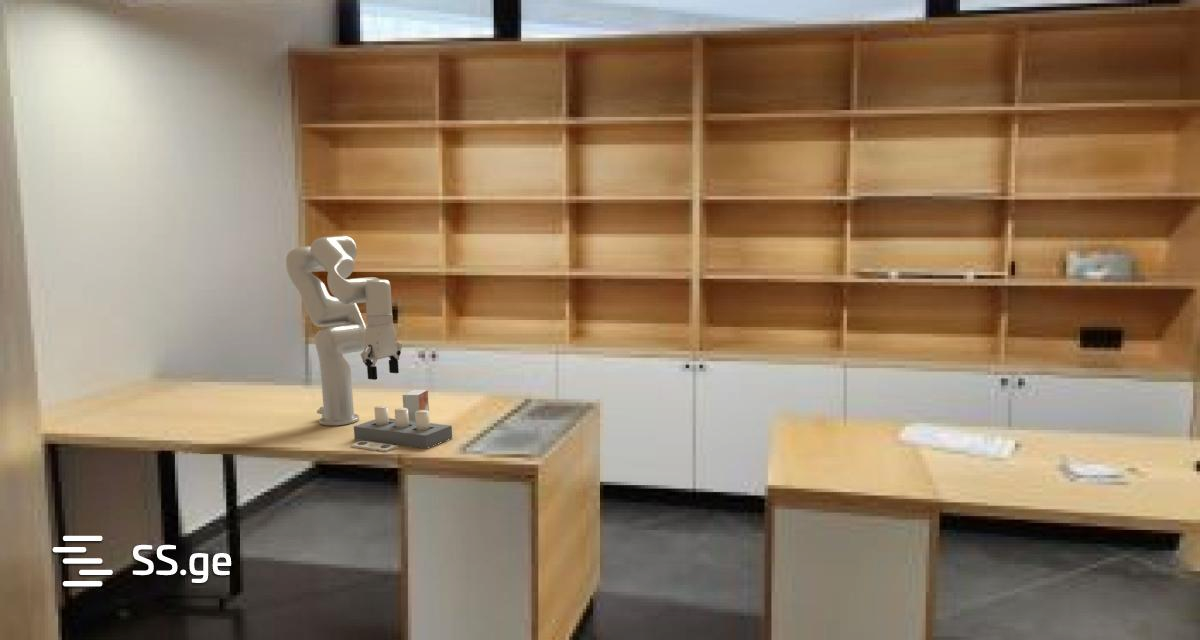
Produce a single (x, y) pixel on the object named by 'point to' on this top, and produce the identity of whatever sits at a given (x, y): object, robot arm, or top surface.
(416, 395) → the small box
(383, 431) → the grey slotted rack
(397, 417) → the button
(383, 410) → the button
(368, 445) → the pattern card
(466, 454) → the top surface
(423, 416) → the button
